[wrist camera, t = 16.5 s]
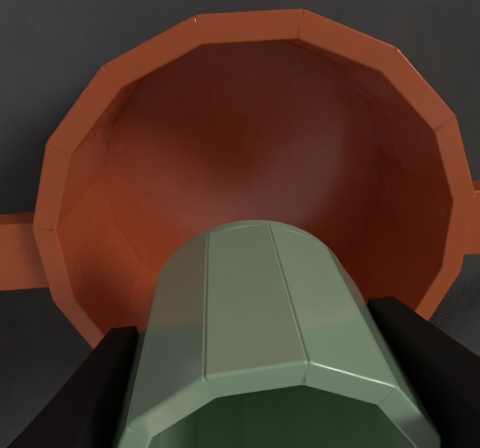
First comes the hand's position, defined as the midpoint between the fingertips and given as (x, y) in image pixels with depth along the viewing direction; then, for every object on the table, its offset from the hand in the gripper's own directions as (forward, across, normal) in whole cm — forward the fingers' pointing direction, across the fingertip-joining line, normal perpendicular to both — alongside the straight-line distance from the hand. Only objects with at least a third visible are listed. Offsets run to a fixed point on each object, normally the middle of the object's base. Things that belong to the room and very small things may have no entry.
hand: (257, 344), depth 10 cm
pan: (+10, 0, -1) cm, 10 cm away
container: (+1, 0, 0) cm, 1 cm away
